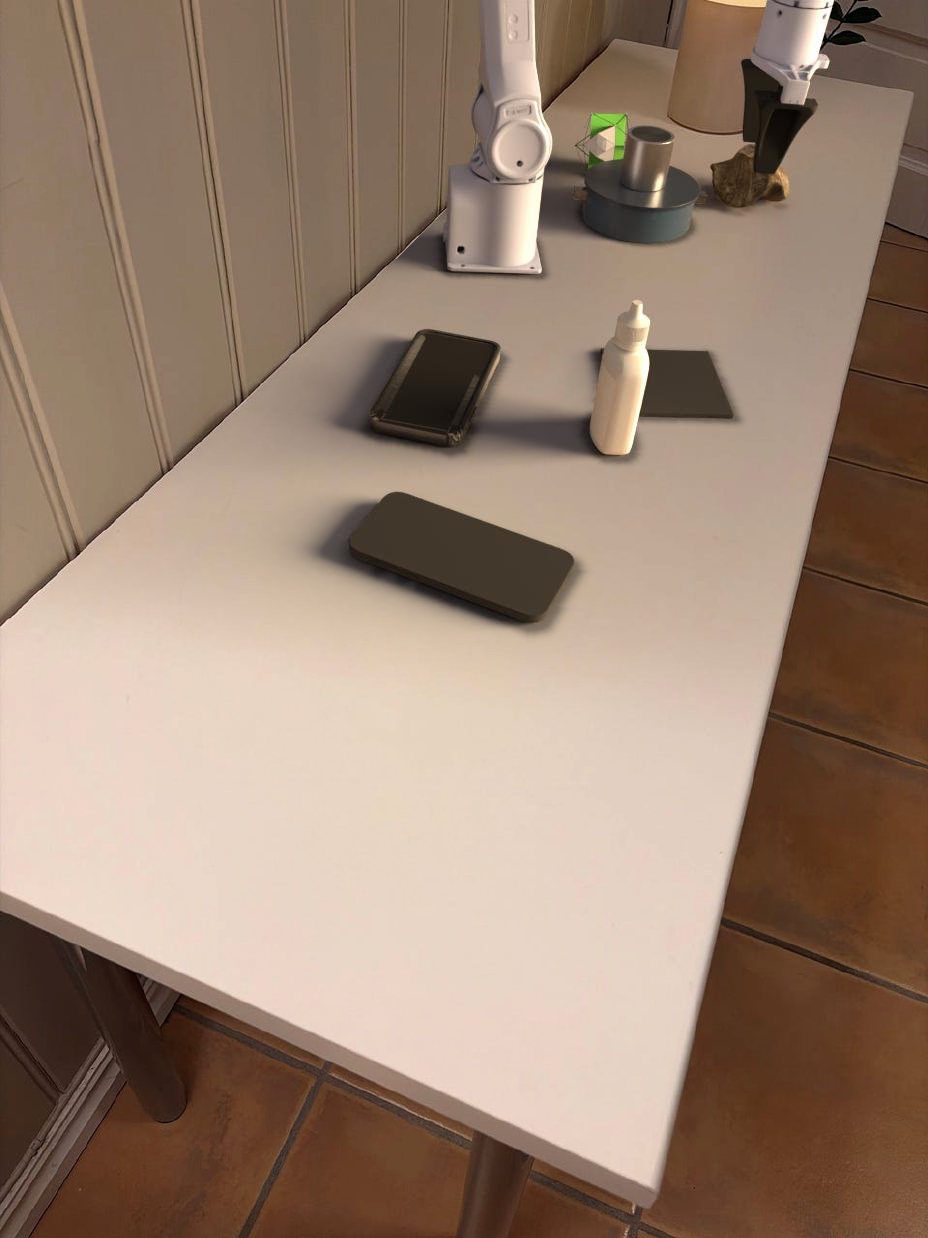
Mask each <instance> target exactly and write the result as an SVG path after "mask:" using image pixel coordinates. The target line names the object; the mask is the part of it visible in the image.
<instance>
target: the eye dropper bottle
mask: <svg viewBox="0 0 928 1238" xmlns="http://www.w3.org/2000/svg"><path fill="white" fill-rule="evenodd" d="M650 325H651V320H650V318H649V317H648V316H647V315H646V314H644V313H643V301H641V300H640V299H634V300H632V302H631V305H630V308H629V310H628V311H625V312H622V313H620V314H619V315H618V316H617V320H616V325H615V331H614V336H612V337H611V338H609V339H608V340H607V342H606V343H605V345H604V347H603V348H604V352H603V356H601V361H600V368H599V373H598V379H597V383H596V390H595V395H594V401H593V406H592V412H591V416H590V423H589V435H590V437H591V441H592V442H593V444H594V445H595V447H596V449H597V450H598V451H599V452H600V453H601V454H603V455H613V456H615V455H616V456H617V455H618V456H622V455H623V456H624V455H628V454H629V453H630V452H631V449H632V446H633V444H634V439H635V434H636V430H637V425H638V420H639V417H640V416H639V412H640V408H641V403H642V398H643V394H644V389H645V385H646V380H647V375H648V370H649V358H648V353H647V350H648V349H646V345H647V339H648V336H649V330H650Z"/></svg>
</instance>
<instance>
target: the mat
mask: <svg viewBox="0 0 928 1238" xmlns="http://www.w3.org/2000/svg"><path fill="white" fill-rule="evenodd" d="M604 348H605V347H601V348H600V356H601V357H602V356H603V352H604ZM646 350H647V353H648V358H649V370H648V375H647V380H646V385H645V389H644V394H643V398H642V403H641V408H640V412H639V417H660V418H661V417H666V418H668V417H669V418H708V419H709V418H712V419H714V418H716V419H733V417H734V411H733V409H732V407H731V405H730V401H729V399H728V397H727V395H726V392H725V390H724V388H723V385H722V382H721V379H720V376H719V375H718V372H717V370H716V367H715V366H714V365H715V364H714V362H713V360H712V358H711V355H710V353H709V350H679V349H646Z"/></svg>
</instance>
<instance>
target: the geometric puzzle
mask: <svg viewBox="0 0 928 1238" xmlns="http://www.w3.org/2000/svg"><path fill="white" fill-rule="evenodd" d="M628 118H629V117H628V113H607V112H605V113H604V112H602V113H601V112H591V113H590V115H589V117H588V119H587V122H586V124H585V125H584V127H586V125H587V128H586V132H585V135H584V138H583V139H581V140H580V141H578V142H576V143H575V144H574V147H575V149H576V150H580V151H581V152H582V153H583V156H584V158H586V156H587V157H588V164H587V163H586V161H587V160H586V159H584V162H585V164H587V165H588V166H585V167H583V168H584V170H588V169H589V168H590V167H592V166H594V165H596V164H598V163H601V162H605V161H609V160H617V159H623V155H624V149H625V143H626V136H627V133H626V127H627V128H629V123H631V120H627V119H628ZM628 121H629V122H628ZM587 123H588V124H587ZM589 125H590V132H589V134H588V135H587V133H588V129H589ZM630 126H631V127H630V128H632V125H630ZM588 137H589V139H588V141H586V142H585V140H586V139H587V138H588ZM582 141H583V142H582ZM581 142H582V144H581V146H582V149H583V150H582V149H581V148H580V147H579V144H580V143H581ZM585 149H587V151H588V154H587V153H586V152H585ZM577 154H578V155H580V153H579V152H577ZM585 155H586V156H585ZM579 159H580V160H582V158H581V157H579ZM581 163H582V165H584V164H583V162H581Z"/></svg>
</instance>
